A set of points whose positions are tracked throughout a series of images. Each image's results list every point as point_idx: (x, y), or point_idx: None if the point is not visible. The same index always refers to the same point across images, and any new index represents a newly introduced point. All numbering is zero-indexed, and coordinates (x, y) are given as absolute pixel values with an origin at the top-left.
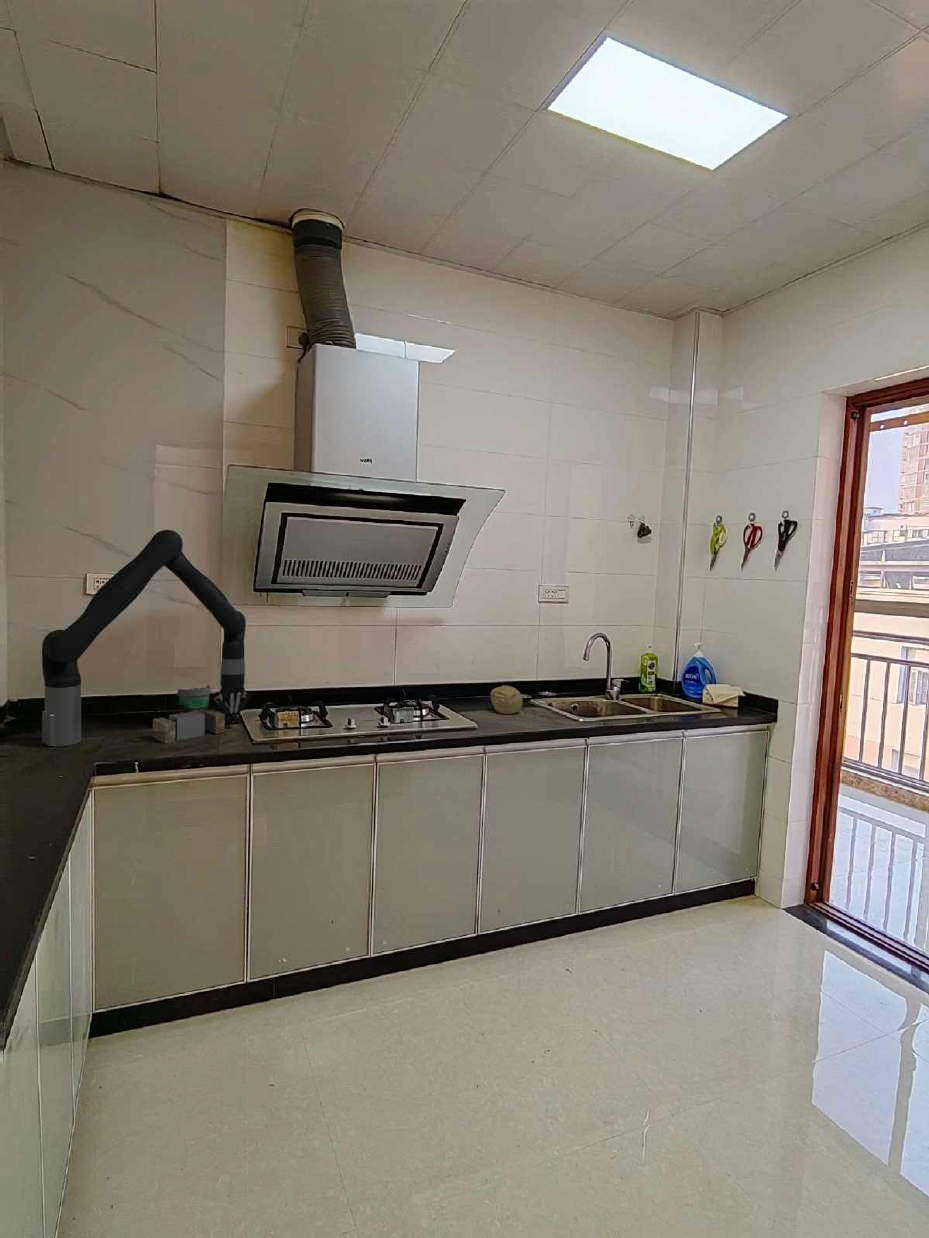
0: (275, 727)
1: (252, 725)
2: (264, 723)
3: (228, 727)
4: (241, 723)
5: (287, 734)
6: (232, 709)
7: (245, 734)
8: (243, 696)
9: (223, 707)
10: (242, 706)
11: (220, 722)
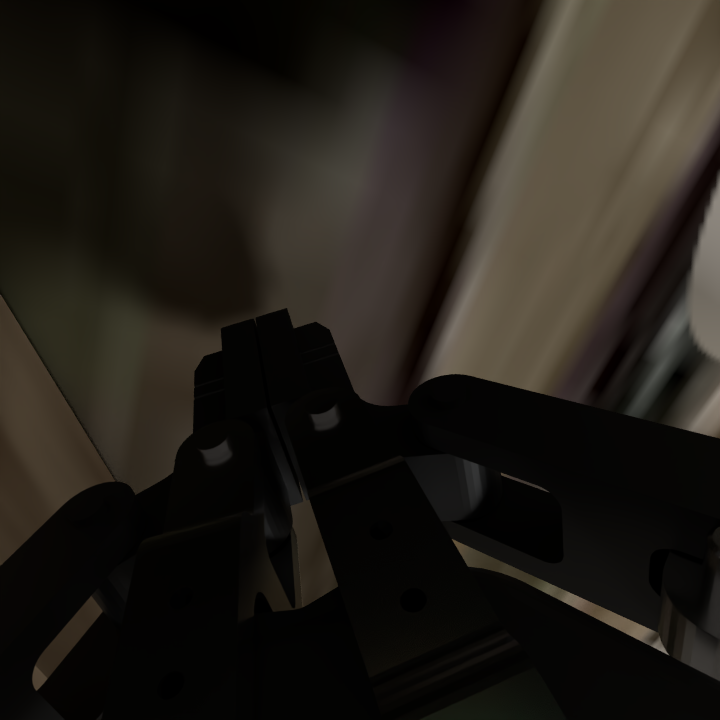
0: (667, 417)
1: (535, 267)
2: (692, 223)
3: (232, 263)
4: (469, 99)
5: (604, 613)
6: (284, 568)
7: (325, 568)
8: (692, 661)
9: (73, 705)
10: (507, 522)
11: None
